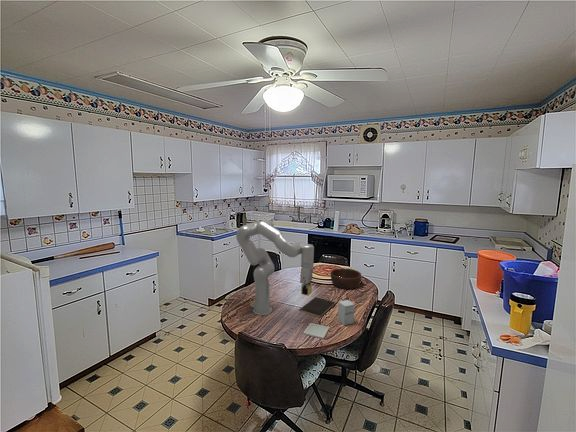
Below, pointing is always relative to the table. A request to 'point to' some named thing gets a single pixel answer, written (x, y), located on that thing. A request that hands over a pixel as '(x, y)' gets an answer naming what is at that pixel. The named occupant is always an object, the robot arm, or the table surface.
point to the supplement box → (345, 312)
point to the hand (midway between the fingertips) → (306, 292)
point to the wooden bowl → (345, 278)
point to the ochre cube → (308, 289)
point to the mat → (316, 330)
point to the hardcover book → (317, 307)
